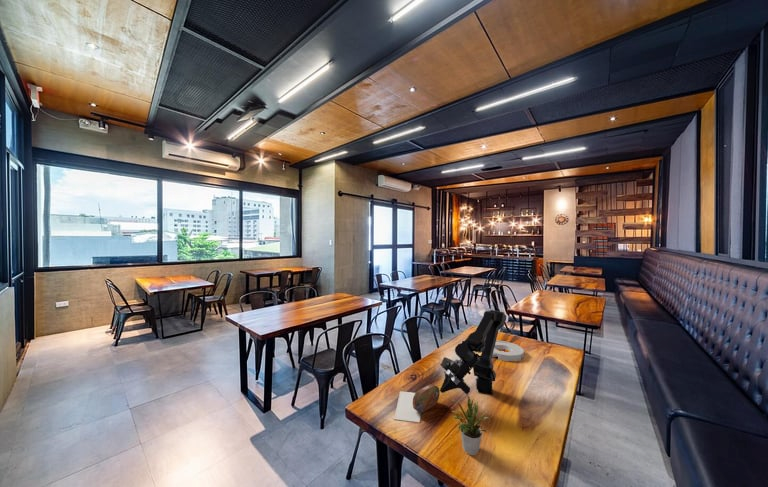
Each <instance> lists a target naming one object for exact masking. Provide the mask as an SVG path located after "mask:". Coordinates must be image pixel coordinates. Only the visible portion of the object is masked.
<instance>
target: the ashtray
mask: <svg viewBox="0 0 768 487" xmlns="http://www.w3.org/2000/svg"><path fill="white" fill-rule="evenodd" d="M497 349H505V350H508V351H510V352H504V351H499V350H497ZM524 356H525V349H523V347H521V346H520V345H518V344H516V343H513V342H510V341H509V342H508V341H504V340H496V343H495V347H494V351H493V355H492V357H498V358H497V360H498V361H501V360H503V362H508V361H516V362H520V361H522V359H524V358H525V357H524Z"/></svg>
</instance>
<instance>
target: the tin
mask: <svg viewBox="0 0 768 487" xmlns="http://www.w3.org/2000/svg"><path fill="white" fill-rule="evenodd" d="M414 393H415V395H414V397H413V408H414V409H415V410H416V411H418V412H419V413H420V414H422V413H424V412H426V411H428V410H429V409H431V408H433V407H434V406H435V405H436V404H437V403H438V401H439V398H440V394H441V392H440V388H439V386H437V385H434V384H433V383H432V384H431V383H430V384H428V385H426V386H424V387H422V388H420V389H417V391H416V392H414Z"/></svg>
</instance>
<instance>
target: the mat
mask: <svg viewBox="0 0 768 487" xmlns="http://www.w3.org/2000/svg"><path fill="white" fill-rule="evenodd" d="M415 393H416V392H410V391H401V390H400V391H399V396H398V399H397V405H396V409H395V414H394V418H393V420H395V421H401V422H409V423H419V424H420V423H421V413H419V412H418V411H416V410H415V409H414V408H413V397H414V395H415Z"/></svg>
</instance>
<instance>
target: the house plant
mask: <svg viewBox="0 0 768 487" xmlns="http://www.w3.org/2000/svg"><path fill="white" fill-rule="evenodd" d="M466 395H467V409H466V411H464V408H463V406H462V405H461V404H460V403H459V402H457V400H454V399H451V401H454V402H455V403H456V404H457V405H458V406H459V408H460V410H461V411H459V410H451V412H452V413H454V415H456V416H454V417H453V418H452V420H459V421H460V423H458V424H456V426H458V429H457V430H458V431H459V430H460V436H461V437H460V438H461V443H462V449H463V451H464V452H465V453H466V454H469V455H472V456H476V455H478V454H479V452H480V447H481V442H482V438H483V432H484V433H486V434H488V432H487V430H486V429H483V427H482V426H481V425H480V423H481V422H482V421H484V420H488V419H490V417H488V416H486V417H483V416H484V415H485V414H486V412H487V411H488V409H487V410H486V411H485V412H483V414H482V415H481V416H480V417H479V418H478V419H477V417H478V416H477V415H478V410H479V403H478V402H476V401H475V399H472V400H471V398H470V395H469V393H468V394H466ZM473 404H474V405H473ZM462 413H463V414H462ZM460 416H461V417H460ZM476 420H477V421H476Z"/></svg>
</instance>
